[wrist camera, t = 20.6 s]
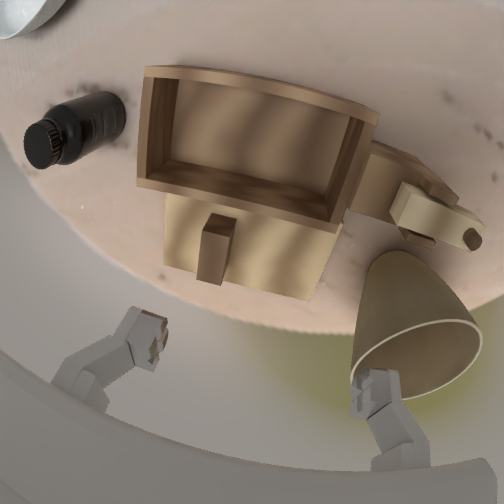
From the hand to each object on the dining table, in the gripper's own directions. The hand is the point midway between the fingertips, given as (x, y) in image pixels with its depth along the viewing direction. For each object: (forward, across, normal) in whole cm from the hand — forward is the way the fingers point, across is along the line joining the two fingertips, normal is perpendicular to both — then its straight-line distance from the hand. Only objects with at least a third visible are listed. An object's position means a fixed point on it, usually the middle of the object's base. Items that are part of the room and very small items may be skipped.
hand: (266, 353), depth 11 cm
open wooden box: (+24, +1, -2) cm, 24 cm away
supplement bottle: (+24, +24, -1) cm, 34 cm away
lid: (+24, +4, +12) cm, 27 cm away
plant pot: (+25, -17, +12) cm, 32 cm away
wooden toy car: (+16, -13, -2) cm, 21 cm away
